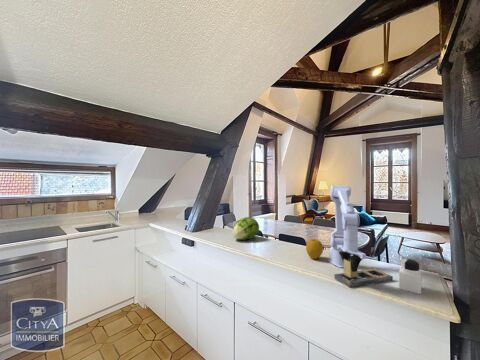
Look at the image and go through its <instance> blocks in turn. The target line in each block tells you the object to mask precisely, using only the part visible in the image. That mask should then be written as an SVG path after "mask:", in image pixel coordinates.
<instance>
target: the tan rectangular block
mask: <svg viewBox="0 0 480 360" xmlns="http://www.w3.org/2000/svg"><path fill="white" fill-rule="evenodd" d="M358 271H359V269H357V272H353V271H352V264H351V260H350V258H348V259H344V267H343V273H344V275H346V276H348V277H350V278H349V279H351V278H353V277H358Z"/></svg>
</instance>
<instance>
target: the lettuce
mask: <svg viewBox="0 0 480 360" xmlns="http://www.w3.org/2000/svg"><path fill="white" fill-rule="evenodd" d="M259 231H260V225H259V222H258V221H257V220H256V219H255V218H253V217H251V216H250V217H249V216H245V217H243V218H239V219H238V220H237V221H236V222H235V224H234V226H233V229H232V235H233V237H234V239H236V240H243V241H245V240H250V239H254V238H255V236H257V234H258V233H259Z"/></svg>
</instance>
